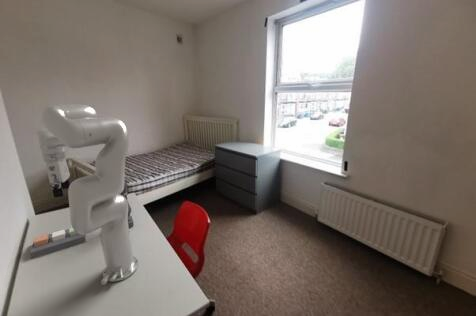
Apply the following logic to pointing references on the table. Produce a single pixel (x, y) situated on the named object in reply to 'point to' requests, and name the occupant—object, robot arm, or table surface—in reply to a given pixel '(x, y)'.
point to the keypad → (56, 244)
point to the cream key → (58, 235)
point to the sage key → (72, 232)
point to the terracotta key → (41, 240)
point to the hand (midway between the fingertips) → (62, 192)
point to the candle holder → (124, 193)
